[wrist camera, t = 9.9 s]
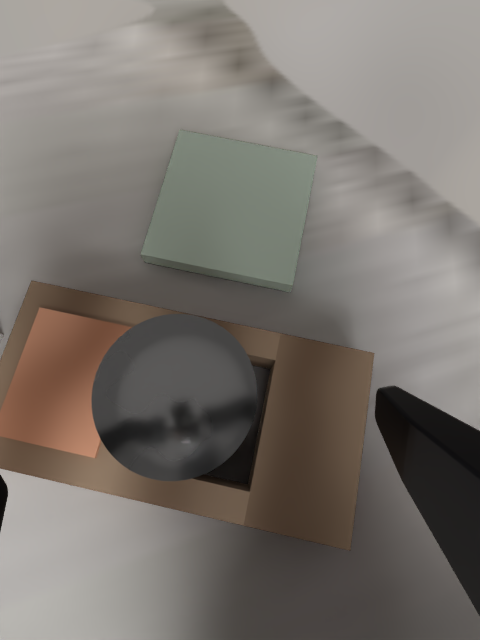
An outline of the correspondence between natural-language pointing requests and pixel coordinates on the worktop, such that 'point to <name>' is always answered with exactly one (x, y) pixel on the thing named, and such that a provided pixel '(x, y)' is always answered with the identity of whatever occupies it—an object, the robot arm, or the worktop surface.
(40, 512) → the worktop surface
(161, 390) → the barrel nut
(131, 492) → the brown slotted block
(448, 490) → the robot arm
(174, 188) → the pale green square plate
